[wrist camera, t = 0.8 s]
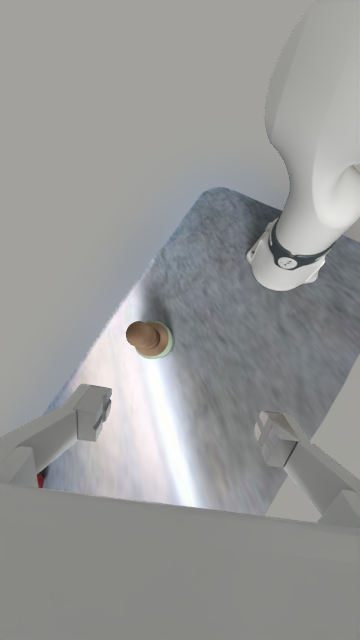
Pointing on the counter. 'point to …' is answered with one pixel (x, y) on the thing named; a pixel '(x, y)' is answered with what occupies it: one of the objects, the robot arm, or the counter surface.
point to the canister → (169, 346)
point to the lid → (148, 337)
